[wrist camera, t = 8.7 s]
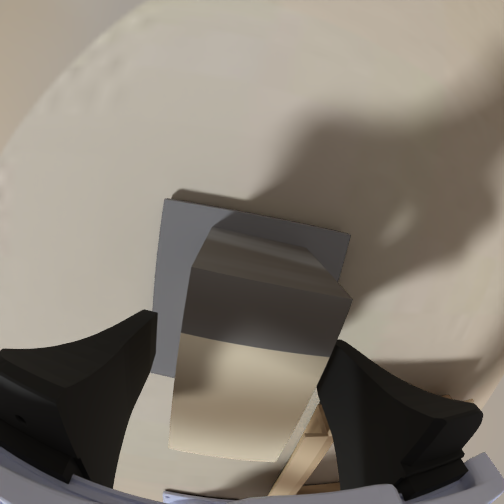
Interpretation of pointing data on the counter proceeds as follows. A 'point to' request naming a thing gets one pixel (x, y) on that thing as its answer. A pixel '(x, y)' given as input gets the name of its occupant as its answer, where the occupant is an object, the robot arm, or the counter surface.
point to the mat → (189, 244)
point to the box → (251, 345)
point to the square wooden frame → (309, 459)
